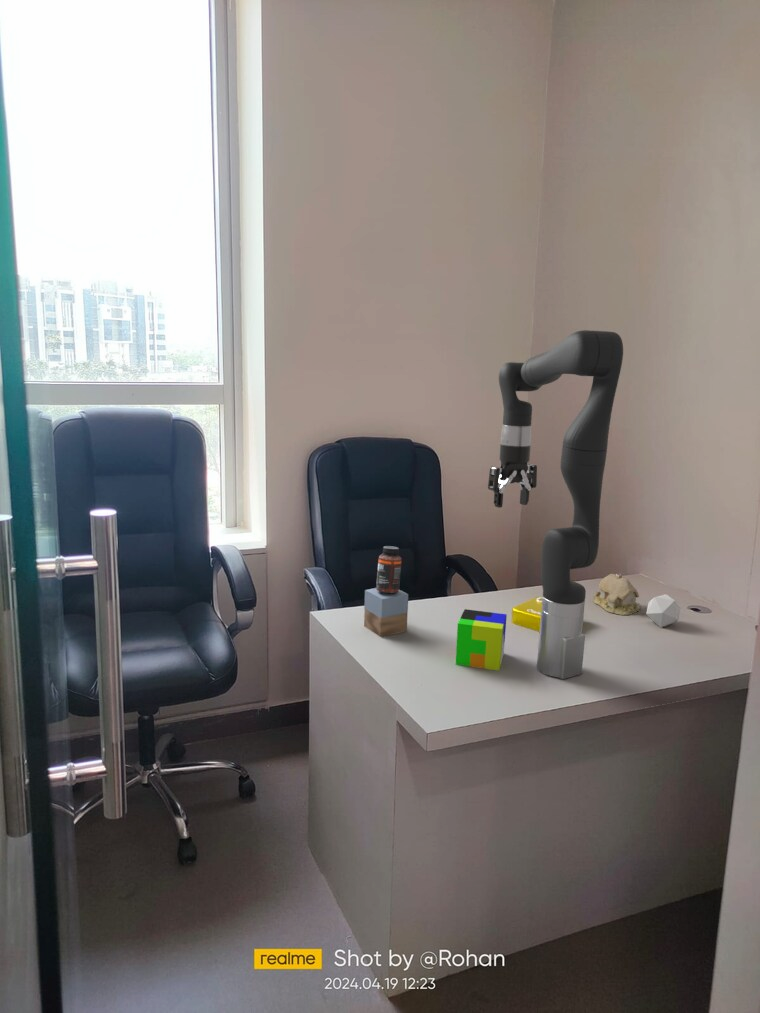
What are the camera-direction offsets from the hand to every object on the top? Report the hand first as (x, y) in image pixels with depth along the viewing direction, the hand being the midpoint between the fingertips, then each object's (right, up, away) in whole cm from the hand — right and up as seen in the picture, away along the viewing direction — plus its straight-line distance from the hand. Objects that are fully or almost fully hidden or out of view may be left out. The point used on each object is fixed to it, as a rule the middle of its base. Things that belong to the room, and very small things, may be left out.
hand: (511, 505), depth 186 cm
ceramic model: (+34, -29, +23) cm, 51 cm away
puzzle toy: (-10, -36, -16) cm, 41 cm away
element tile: (+11, -32, +9) cm, 35 cm away
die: (+43, -32, +10) cm, 54 cm away
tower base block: (-32, -32, +1) cm, 45 cm away
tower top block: (-32, -27, 0) cm, 42 cm away
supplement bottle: (-32, -22, -2) cm, 39 cm away
